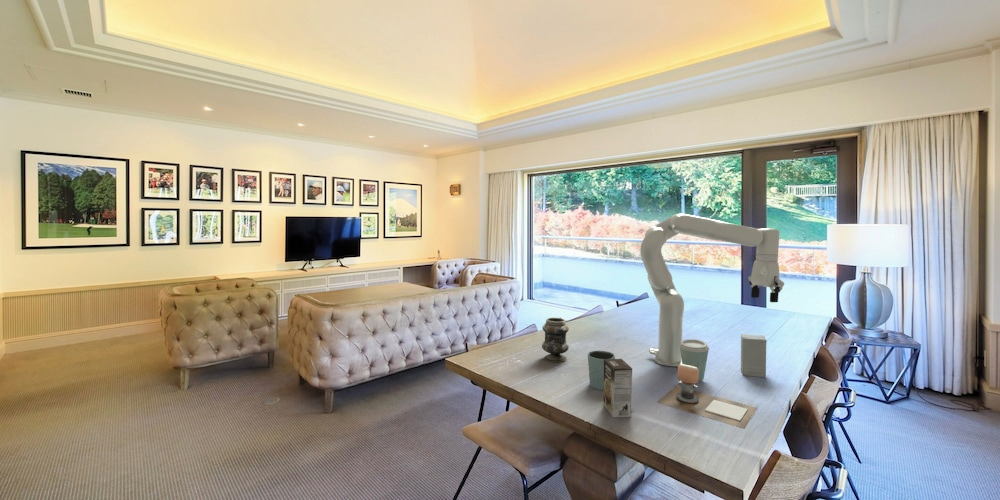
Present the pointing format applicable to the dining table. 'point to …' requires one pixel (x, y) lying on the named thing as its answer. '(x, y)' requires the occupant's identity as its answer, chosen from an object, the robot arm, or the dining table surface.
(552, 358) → the apothecary jar
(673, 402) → the board
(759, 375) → the skincare box
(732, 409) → the pad
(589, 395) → the dining table surface
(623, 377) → the coffee box
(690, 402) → the round metal knob
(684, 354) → the disposable coffee cup
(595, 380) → the teal cup
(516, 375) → the dining table surface
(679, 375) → the cap
